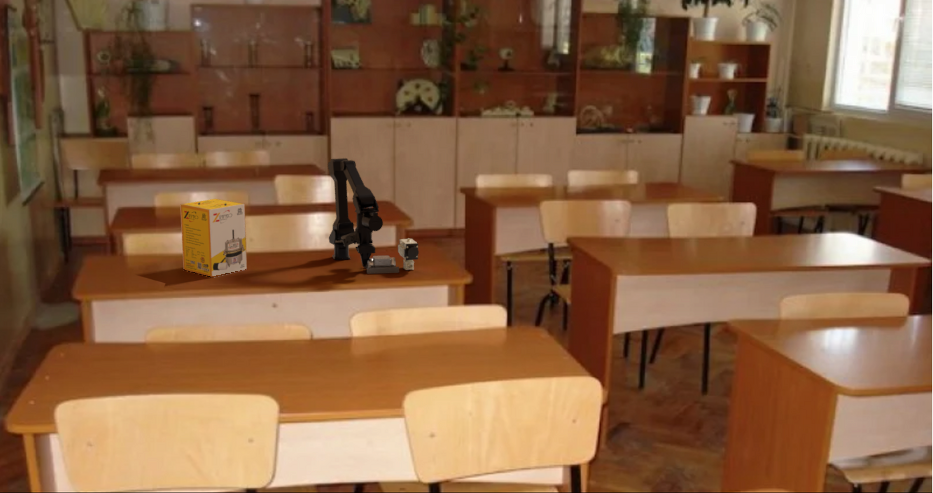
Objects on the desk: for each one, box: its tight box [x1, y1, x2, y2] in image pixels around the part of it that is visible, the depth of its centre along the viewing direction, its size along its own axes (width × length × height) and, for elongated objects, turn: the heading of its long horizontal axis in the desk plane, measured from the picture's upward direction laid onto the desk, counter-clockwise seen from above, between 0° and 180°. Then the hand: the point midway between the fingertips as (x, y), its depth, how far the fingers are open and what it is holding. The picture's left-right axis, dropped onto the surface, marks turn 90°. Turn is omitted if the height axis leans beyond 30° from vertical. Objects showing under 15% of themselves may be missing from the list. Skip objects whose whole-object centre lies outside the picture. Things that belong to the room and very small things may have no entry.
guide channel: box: [363, 263, 400, 275], centre depth 339 cm, size 9×12×2 cm
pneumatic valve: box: [397, 237, 420, 271], centre depth 341 cm, size 6×12×12 cm, turn 20°
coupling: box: [368, 255, 397, 268], centre depth 339 cm, size 5×10×5 cm, turn 103°
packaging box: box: [179, 198, 248, 276], centre depth 331 cm, size 16×16×25 cm
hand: (364, 266), depth 338 cm, fingers closed, pressing on coupling
